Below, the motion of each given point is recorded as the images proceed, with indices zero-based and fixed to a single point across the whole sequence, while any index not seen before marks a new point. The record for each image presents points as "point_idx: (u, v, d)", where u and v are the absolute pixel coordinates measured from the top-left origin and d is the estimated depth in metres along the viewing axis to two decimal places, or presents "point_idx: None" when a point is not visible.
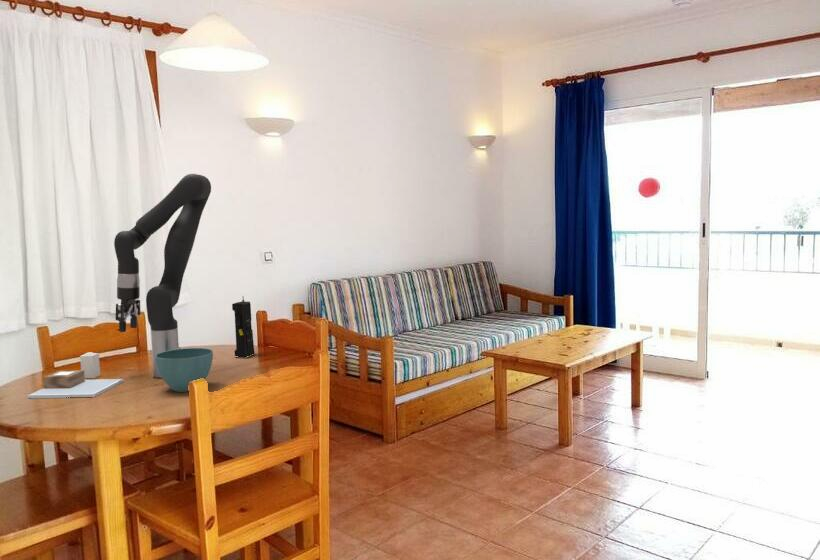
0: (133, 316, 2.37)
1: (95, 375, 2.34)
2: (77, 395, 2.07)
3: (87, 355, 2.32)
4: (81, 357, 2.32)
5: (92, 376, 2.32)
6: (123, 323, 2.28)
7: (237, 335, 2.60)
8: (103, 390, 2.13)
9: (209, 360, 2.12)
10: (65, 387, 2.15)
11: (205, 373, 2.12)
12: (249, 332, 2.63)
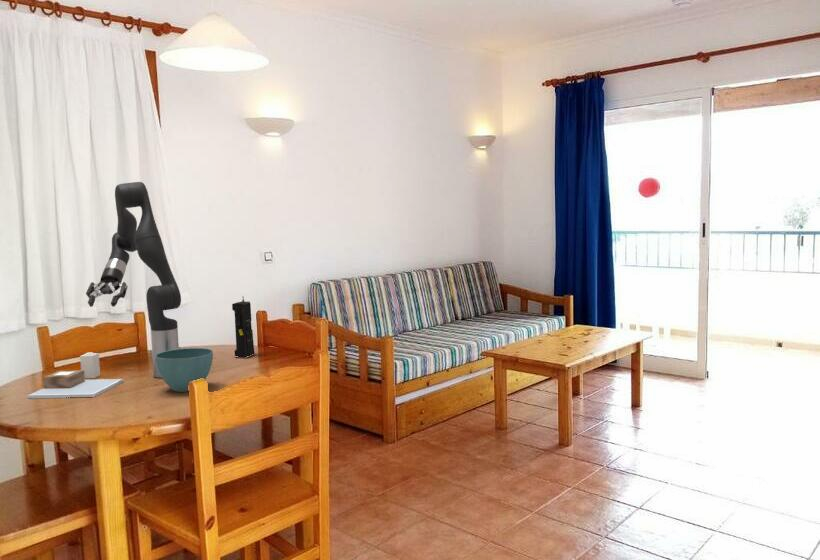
0: None
1: (95, 375, 2.34)
2: (77, 395, 2.07)
3: (87, 355, 2.32)
4: (81, 357, 2.32)
5: (92, 376, 2.32)
6: (90, 297, 2.45)
7: (237, 335, 2.60)
8: (103, 390, 2.13)
9: (209, 360, 2.12)
10: (65, 387, 2.15)
11: (205, 373, 2.12)
12: (249, 332, 2.63)
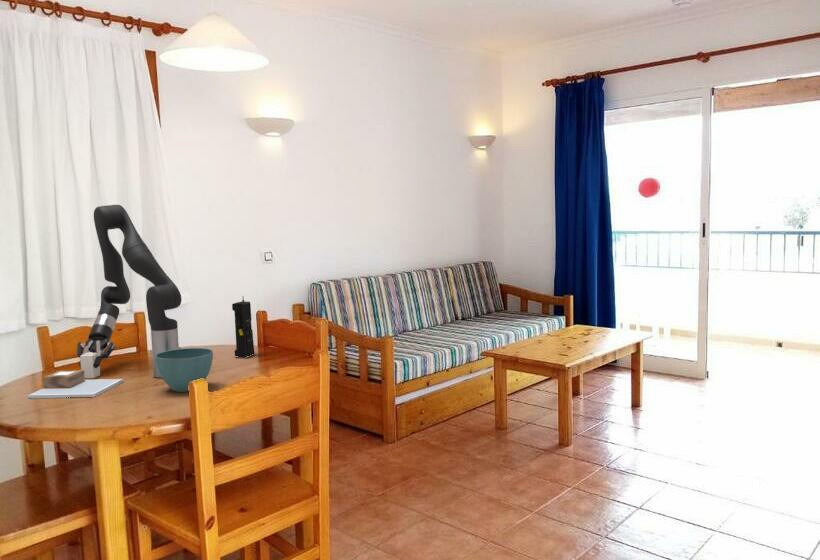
0: None
1: (95, 375, 2.34)
2: (77, 395, 2.07)
3: (87, 355, 2.32)
4: (81, 357, 2.32)
5: (92, 376, 2.32)
6: None
7: (237, 335, 2.60)
8: (103, 390, 2.13)
9: (209, 360, 2.12)
10: (65, 387, 2.15)
11: (205, 373, 2.12)
12: (249, 332, 2.63)
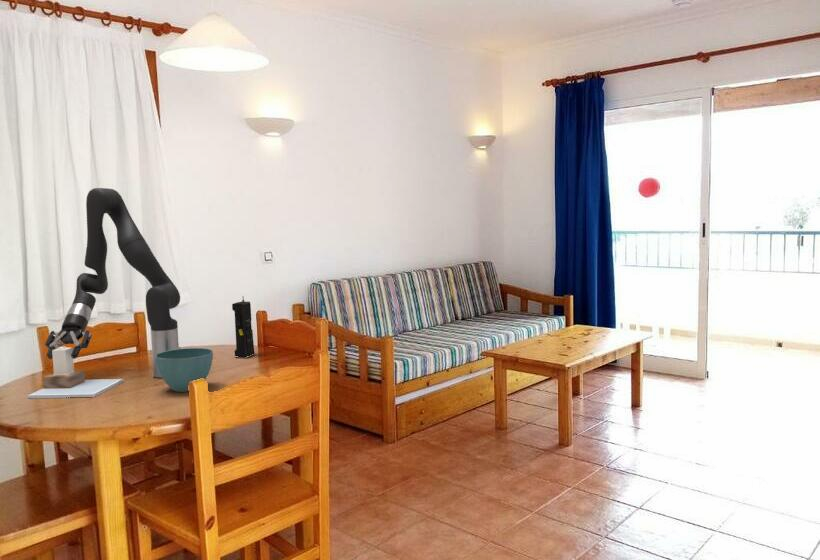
0: None
1: (68, 371, 2.18)
2: (77, 395, 2.07)
3: (60, 349, 2.17)
4: (53, 352, 2.17)
5: (65, 372, 2.17)
6: (49, 349, 2.20)
7: (237, 335, 2.60)
8: (103, 390, 2.13)
9: (209, 360, 2.12)
10: (65, 387, 2.15)
11: (205, 373, 2.12)
12: (249, 332, 2.63)
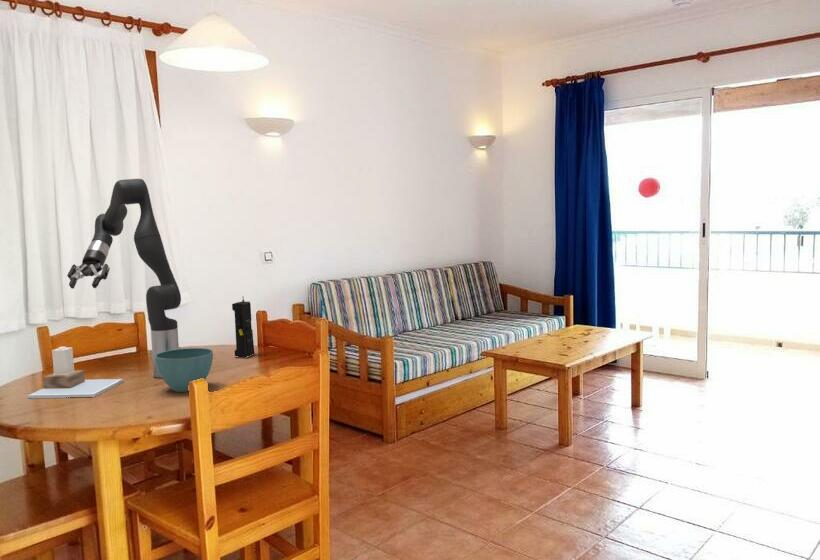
0: None
1: (68, 371, 2.18)
2: (77, 395, 2.07)
3: (60, 349, 2.17)
4: (53, 352, 2.17)
5: (65, 372, 2.17)
6: (71, 279, 2.41)
7: (237, 335, 2.60)
8: (103, 390, 2.13)
9: (209, 360, 2.12)
10: (65, 387, 2.15)
11: (205, 373, 2.12)
12: (249, 332, 2.63)
